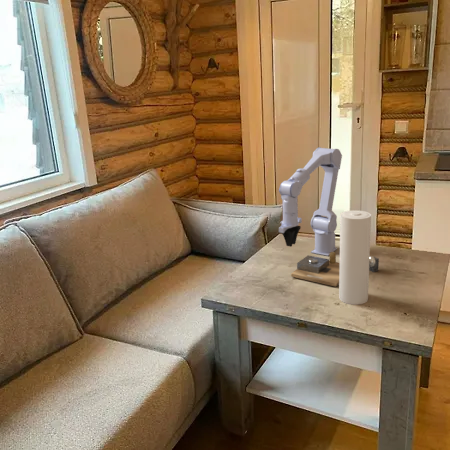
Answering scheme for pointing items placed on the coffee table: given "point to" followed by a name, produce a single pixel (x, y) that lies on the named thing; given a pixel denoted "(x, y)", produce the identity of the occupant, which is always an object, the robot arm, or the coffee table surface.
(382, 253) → the coffee table surface
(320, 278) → the wooden base with peg
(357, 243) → the cylinder container
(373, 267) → the dial indicator
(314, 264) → the cover
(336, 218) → the robot arm
